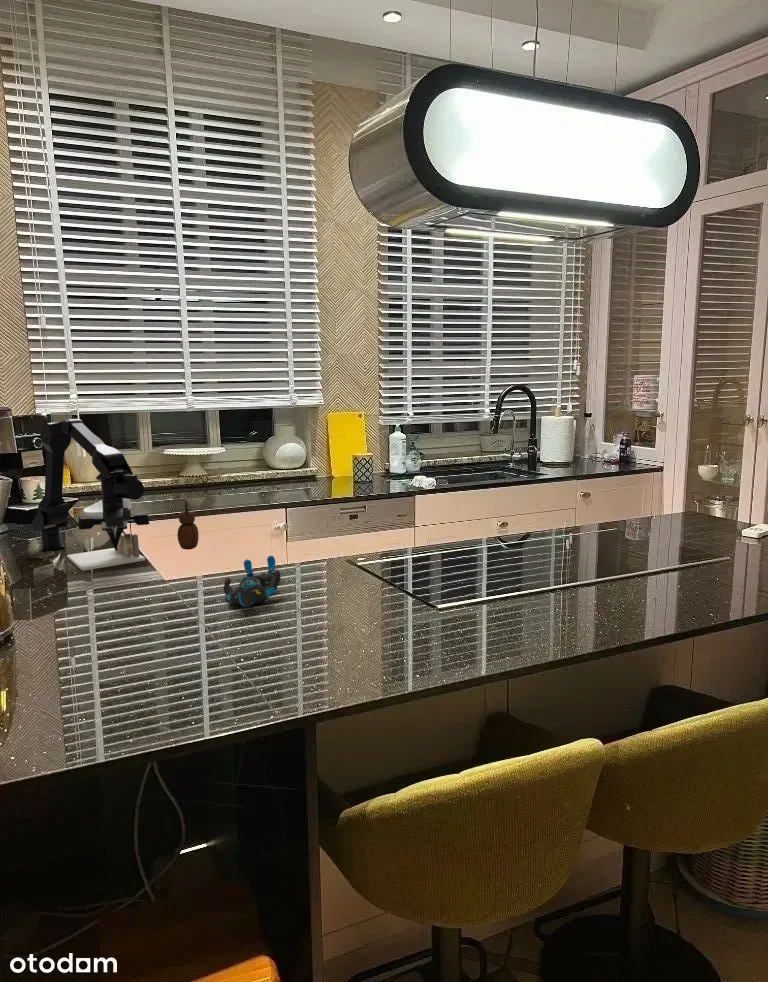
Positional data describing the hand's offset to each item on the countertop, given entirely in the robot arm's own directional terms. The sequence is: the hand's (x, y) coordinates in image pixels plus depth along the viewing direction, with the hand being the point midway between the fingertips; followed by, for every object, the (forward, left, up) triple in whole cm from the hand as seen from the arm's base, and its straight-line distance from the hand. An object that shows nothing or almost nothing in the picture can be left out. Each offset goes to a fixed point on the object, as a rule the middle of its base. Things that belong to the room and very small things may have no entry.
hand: (115, 549), depth 215 cm
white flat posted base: (-2, -2, -3) cm, 4 cm away
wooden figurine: (+1, +21, -3) cm, 21 cm away
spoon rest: (-76, +17, -3) cm, 78 cm away
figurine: (+58, +16, -3) cm, 60 cm away
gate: (-2, +3, -1) cm, 4 cm away
